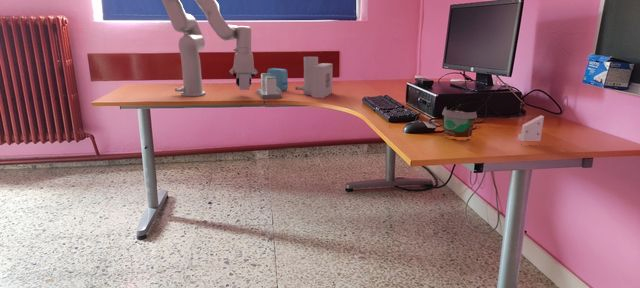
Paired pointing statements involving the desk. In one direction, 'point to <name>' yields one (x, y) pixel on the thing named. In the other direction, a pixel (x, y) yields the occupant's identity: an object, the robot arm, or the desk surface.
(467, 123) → the food container
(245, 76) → the block
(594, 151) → the desk surface
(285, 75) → the data package
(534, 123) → the white angled block
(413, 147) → the desk surface
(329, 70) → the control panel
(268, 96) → the rail
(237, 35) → the robot arm
